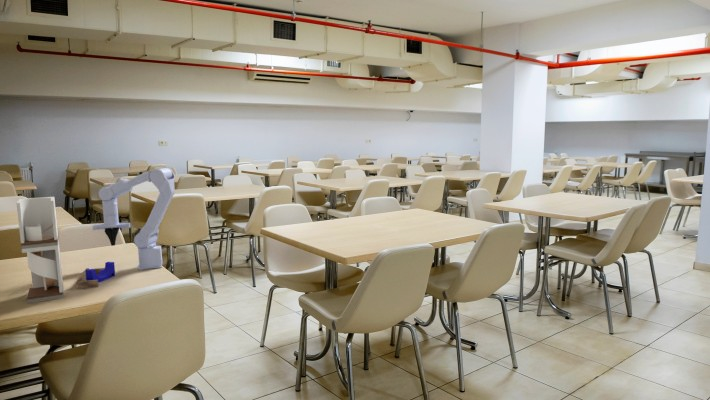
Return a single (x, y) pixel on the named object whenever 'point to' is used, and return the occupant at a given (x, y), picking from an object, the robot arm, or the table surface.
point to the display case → (41, 247)
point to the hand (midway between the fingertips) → (113, 245)
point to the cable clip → (101, 273)
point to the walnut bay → (90, 283)
